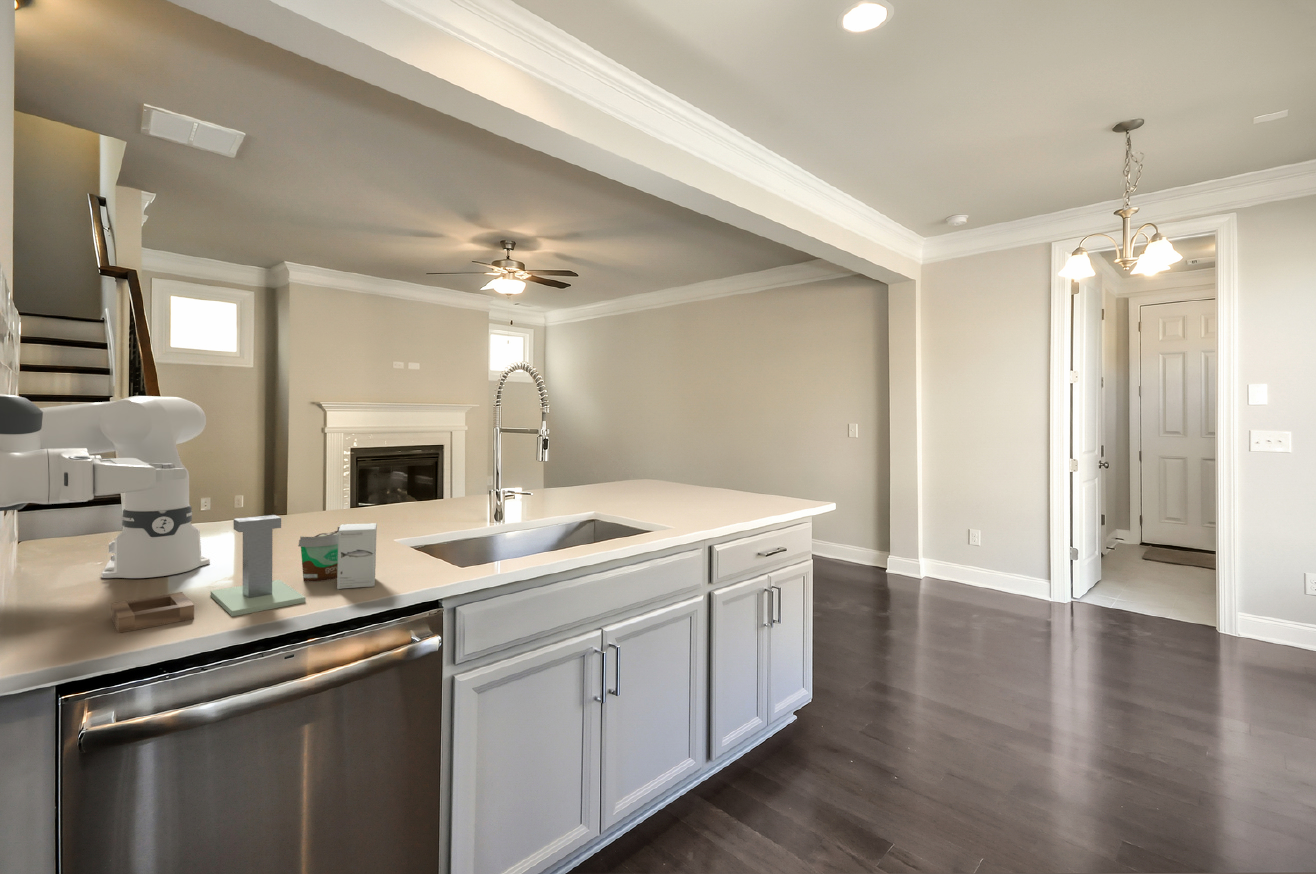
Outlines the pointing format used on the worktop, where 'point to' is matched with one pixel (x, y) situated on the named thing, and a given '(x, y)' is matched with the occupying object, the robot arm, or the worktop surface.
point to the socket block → (151, 611)
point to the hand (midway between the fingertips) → (179, 470)
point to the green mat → (256, 599)
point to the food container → (320, 556)
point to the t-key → (257, 553)
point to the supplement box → (356, 555)
